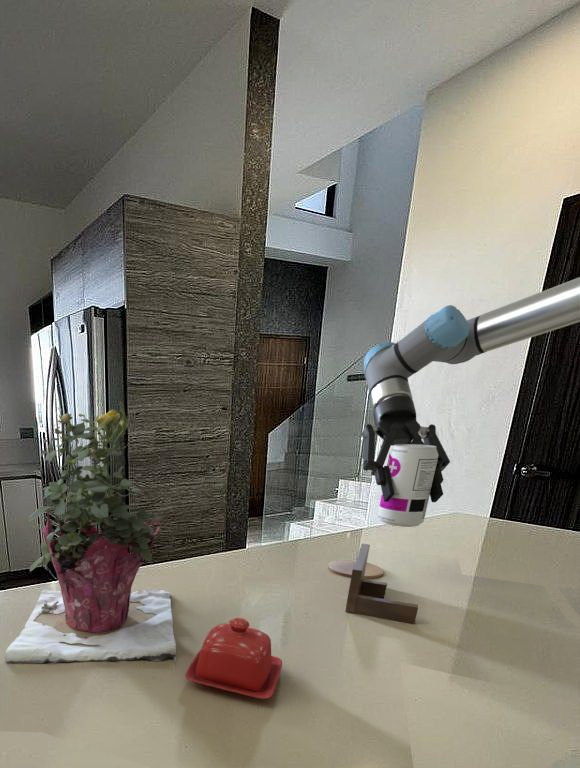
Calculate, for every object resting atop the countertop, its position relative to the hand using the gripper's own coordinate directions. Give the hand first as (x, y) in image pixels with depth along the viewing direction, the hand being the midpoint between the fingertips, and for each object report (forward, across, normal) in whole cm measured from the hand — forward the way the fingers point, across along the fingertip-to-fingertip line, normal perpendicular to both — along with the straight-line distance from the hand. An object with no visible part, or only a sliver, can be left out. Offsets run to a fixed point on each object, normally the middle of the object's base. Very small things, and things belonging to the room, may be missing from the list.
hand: (413, 497), depth 91 cm
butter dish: (+39, +38, +14) cm, 56 cm away
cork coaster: (+7, +5, -18) cm, 20 cm away
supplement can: (+2, 0, -6) cm, 7 cm away
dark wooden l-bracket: (+19, +6, -6) cm, 21 cm away
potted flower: (+28, +58, +3) cm, 65 cm away
